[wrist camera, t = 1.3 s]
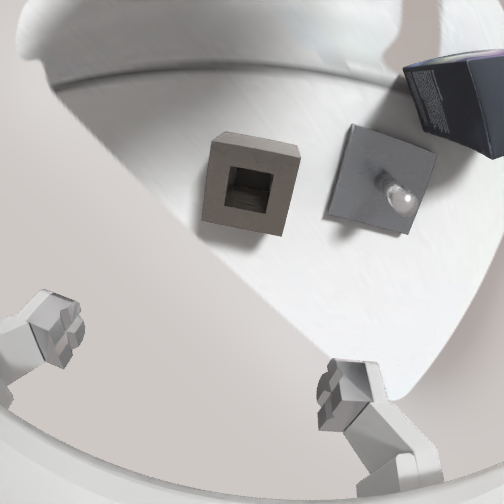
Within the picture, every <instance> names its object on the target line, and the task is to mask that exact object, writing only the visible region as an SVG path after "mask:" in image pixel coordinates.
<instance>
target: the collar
mask: <svg viewBox="0 0 504 504" xmlns="http://www.w3.org/2000/svg"><path fill="white" fill-rule="evenodd" d="M300 160H301V157H300V153H299V150H298V147H297V145H293V144H288V143H283V142H279V141H274V140H269V139H264V138H259V137H253V136H248V135H242V134H236V133H230V132H224V133H222V134H221V135H220V136H218V137H217V138H215V139H214V140H213V141H212V143H211V150H210V157H209V164H208V172H207V179H206V187H205V195H204V204H203V212H202V221H206V222H211V223H216V224H221V225H226V226H231V227H236V228H241V229H246V230H251V231H256V232H261V233H266V234H271V235H276V236H281V237H282V233H283V229H284V225H285V221H286V217H287V213H288V209H289V205H290V201H291V197H292V193H293V189H294V185H295V181H296V177H297V172H298V168H299V164H300ZM237 167H240V168H245V169H250V170H256V171H261V172H266V173H271V174H272V178H271V182H270V187H269V192H268V191H263V190H258V189H253V188H248V187H243V186H238V185H234V184H235V178H236V172H237Z"/></svg>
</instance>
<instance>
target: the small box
mask: <svg viewBox="0 0 504 504" xmlns="http://www.w3.org/2000/svg"><path fill="white" fill-rule="evenodd" d="M403 72H404V74H405V77H406V80H407V83H408V85H409V88H410V91H411V94H412V96H413V100H414V102H415V105H416V108H417V111H418V114H419V118H420V121H421V124H422V128H423V130H424V132H426V133H430V134H433V135H436V136H439V137H442V138H445V139H448V140H450V141H453V142H456V143H458V144H460V145H464V146H466V147H468V148H471V149H473V150H475V151H477V152H479V153H481V154H483V155H485V156H486V157H488V158H490V159H492V160H494V159H496V158H499V157H502V156H504V49H492V50H480V51H472V52H465V53H458V54H453V55H448V56H443V57H438V58H434V59H430V60H426V61H423V62H419V63H415V64H412V65H409V66H406V67H404V68H403Z"/></svg>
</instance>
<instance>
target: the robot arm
mask: <svg viewBox="0 0 504 504" xmlns="http://www.w3.org/2000/svg"><path fill="white" fill-rule="evenodd" d="M80 312H81V308H80V304H79V303H78V302H76V301H74V300H72V299H69V298H66V297H64V296H61V295H59V294H56V293H53V292H50V291H48V290H46V289H42V290H39V292H38V293H37V294H36V295H35V296H34V297H33V298H32V299H31V300H30V301H29V302H28V303H27V304H26V305H25V306H24V307H23V308H22V309H21V311H20V312H19V313H18V314H17V315H16V316H14V315H11V316H9V317H6V318H4V319H1V320H0V504H504V462H501V463H499V464H496V465H494V466H491V467H489V468H486V469H484V470H481V471H478V472H476V473H473V474H470V475H467V476H464V477H460V478H457V479H454V480H450V481H447V482H444V477H443V472H442V468H441V464H440V459H439V456H438V451H437V448H436V447H435V446H434V445H433V444H432V443H431V442H430V441H429V439H427V437H426V436H425V435H424V434H423V433H422V432H421V431H420V430H419V429H418V428H417V427H416V426H415V425H414V424H413V423H412V422H411V421H410V420H409V419H408V418H407V417H406V416H405V415H404V414H403V413H402V411H401V410H400V409H399V408H397V406H396V405H395V404H394V403H389V400H388V396H387V392H386V388H385V385H384V381H383V377H382V374H381V370H380V367H379V364H378V363H377V362H369V361H358V360H347V359H337V358H333V359H331V360H330V362H329V364H328V365H327V368H328V372H326V373H324V374H323V375H322V376H321V378H320V380H319V383H318V387H317V402H318V404H319V405H320V406H321V409H320V410H319V412H318V428H319V431H333V432H344V433H343V434H344V435H345V437H346V439H347V440H348V442H349V443H350V445H351V446H352V447H353V449H354V451H355V452H356V454H357V455H358V457H359V458H360V459H361V461H362V463H363V464H364V465H365V467H366V468H367V470H368V471H369V473H370V475H369V476H367V477H366V478H364V479H363V480H361V481H360V482H359V483H358V484H357V485H356V488H357V498H351V499H336V500H282V499H281V500H280V499H266V498H254V497H246V496H238V495H230V494H224V493H218V492H212V491H206V490H201V489H196V488H191V487H187V486H183V485H179V484H174V483H170V482H167V481H163V480H160V479H156V478H153V477H149V476H146V475H143V474H140V473H137V472H134V471H131V470H128V469H125V468H122V467H120V466H117V465H114V464H112V463H109V462H106V461H104V460H101V459H99V458H96V457H94V456H92V455H90V454H87V453H85V452H83V451H81V450H79V449H76V448H74V447H72V446H70V445H68V444H66V443H64V442H62V441H60V440H58V439H56V438H54V437H52V436H50V435H49V434H47V433H45V432H43V431H42V430H40V429H38V428H36V427H35V426H33V425H31V424H29V423H28V422H26V421H25V420H23V419H21V418H20V417H18V416H17V415H15V414H14V413H12V412H11V411H9V410H8V408H9V406H10V405H11V403H12V401H13V400H14V399H13V395H12V394H11V392H10V391H9V389H8V388H7V386H8V385H9V384H11V383H13V382H14V381H16V380H17V379H19V378H21V377H22V376H24V375H25V374H27V373H29V372H30V371H32V370H34V369H35V368H37V367H38V366H40V365H42V364H43V363H45V361H46V362H48V363H50V364H52V365H55V366H57V367H59V368H62V369H64V368H65V367H66V365H67V363H68V362H69V361H70V359H71V357H72V356H73V354H72V349H74V348H76V347H78V346H79V345H80V343H81V342H82V340H83V337H84V333H85V325H84V321H83V319H82V318H81V317H80V316H79V313H80Z"/></svg>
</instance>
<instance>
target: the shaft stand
mask: <svg viewBox="0 0 504 504" xmlns="http://www.w3.org/2000/svg"><path fill="white" fill-rule="evenodd" d="M436 156H437V155H436V154H434V153H432V152H430V151H428V150H425V149H423V148H420V147H418V146H415V145H413V144H410V143H407V142H405V141H402V140H399V139H397V138H394V137H391V136H388V135H385V134H383V133H380V132H377V131H374V130H371V129H368V128H364V127H361V126H358V125H355V124H352V126H351V130H350V134H349V138H348V141H347V145H346V149H345V153H344V157H343V160H342V164H341V168H340V171H339V175H338V178H337V182H336V185H335V189H334V192H333V196H332V199H331V202H330V206H329V209H328V211H329V214H330V215H333V216H337V217H341V218H345V219H349V220H353V221H358V222H362V223H365V224H369V225H373V226H377V227H381V228H385V229H389V230H392V231H396V232H400V233H403V234H407V235H408V234H409V231H410V229H411V226H412V224H413V221H414V219H415V216H416V214H417V211H418V209H419V206H420V203H421V201H422V198H423V195H424V192H425V190H426V187H427V184H428V181H429V178H430V175H431V172H432V169H433V166H434V163H435V160H436Z"/></svg>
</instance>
